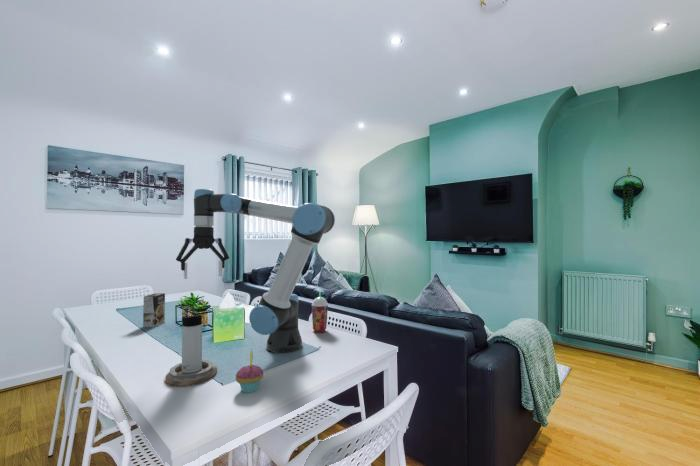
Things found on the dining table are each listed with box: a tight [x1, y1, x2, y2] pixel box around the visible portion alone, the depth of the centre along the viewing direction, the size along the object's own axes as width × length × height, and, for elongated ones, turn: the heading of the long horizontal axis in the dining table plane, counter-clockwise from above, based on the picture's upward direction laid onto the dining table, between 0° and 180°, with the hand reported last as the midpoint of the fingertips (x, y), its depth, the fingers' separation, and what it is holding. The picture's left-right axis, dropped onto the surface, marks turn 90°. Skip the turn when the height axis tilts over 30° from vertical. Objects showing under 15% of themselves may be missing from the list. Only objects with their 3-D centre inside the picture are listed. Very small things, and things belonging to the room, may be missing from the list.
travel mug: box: [181, 314, 203, 374], centre depth 111 cm, size 6×7×20 cm
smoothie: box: [310, 291, 329, 334], centre depth 162 cm, size 8×8×20 cm
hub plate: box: [164, 359, 218, 387], centre depth 111 cm, size 16×16×3 cm
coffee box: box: [142, 292, 166, 328], centre depth 170 cm, size 9×6×16 cm
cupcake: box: [235, 348, 265, 394], centre depth 101 cm, size 9×8×12 cm
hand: (203, 277), depth 134 cm, fingers open, 13 cm apart
